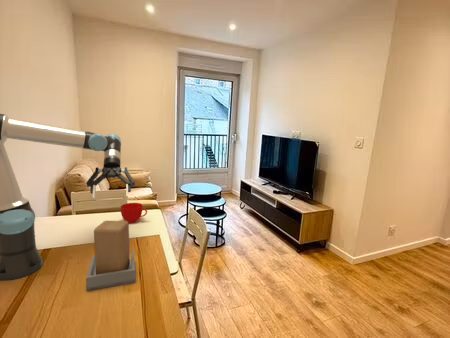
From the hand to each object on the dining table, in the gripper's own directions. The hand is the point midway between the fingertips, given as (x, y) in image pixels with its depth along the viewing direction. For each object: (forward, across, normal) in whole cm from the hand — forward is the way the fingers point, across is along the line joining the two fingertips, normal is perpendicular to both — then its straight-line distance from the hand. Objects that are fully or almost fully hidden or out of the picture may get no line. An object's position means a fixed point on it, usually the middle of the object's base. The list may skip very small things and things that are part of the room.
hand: (110, 198), depth 111 cm
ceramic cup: (-11, -11, -49) cm, 51 cm away
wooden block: (+30, -2, -6) cm, 31 cm away
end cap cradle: (+31, -1, -7) cm, 32 cm away
